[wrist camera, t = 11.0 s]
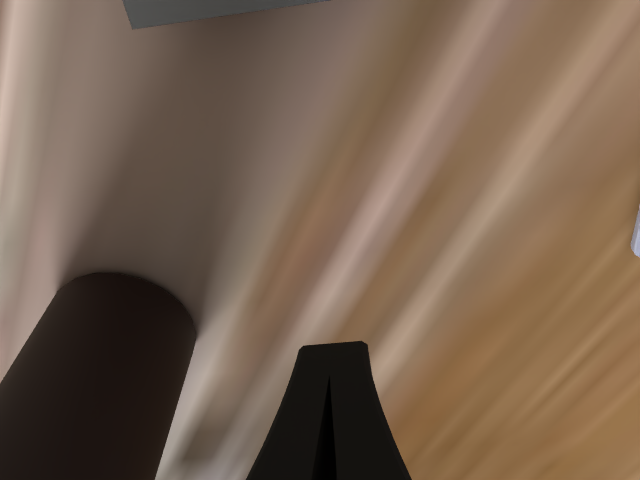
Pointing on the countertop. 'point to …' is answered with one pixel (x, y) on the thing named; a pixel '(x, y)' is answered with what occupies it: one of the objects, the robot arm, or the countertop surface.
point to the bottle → (96, 383)
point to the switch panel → (195, 9)
